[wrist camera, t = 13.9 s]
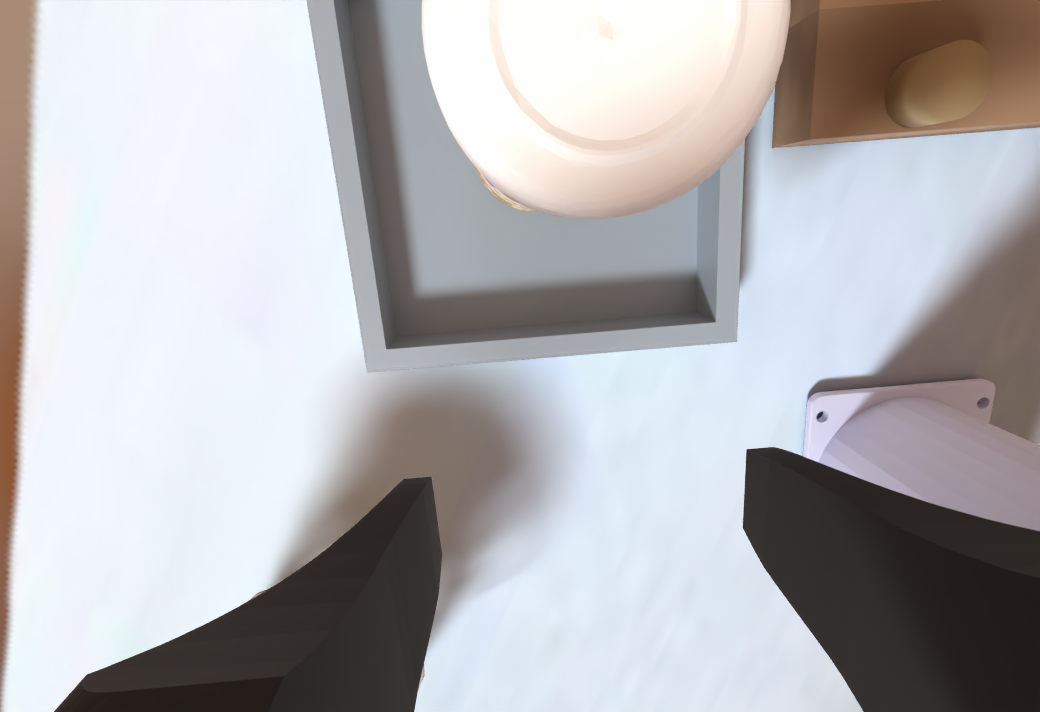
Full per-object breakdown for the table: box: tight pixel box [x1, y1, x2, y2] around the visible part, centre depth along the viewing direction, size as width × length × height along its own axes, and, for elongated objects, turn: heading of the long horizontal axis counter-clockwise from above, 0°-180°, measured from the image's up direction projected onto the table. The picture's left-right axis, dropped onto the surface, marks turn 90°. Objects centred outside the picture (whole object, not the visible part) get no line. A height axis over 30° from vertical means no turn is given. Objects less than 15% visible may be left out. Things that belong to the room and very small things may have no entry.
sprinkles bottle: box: [422, 0, 791, 219], centre depth 12 cm, size 5×5×13 cm
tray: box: [307, 0, 745, 373], centre depth 18 cm, size 14×14×2 cm
